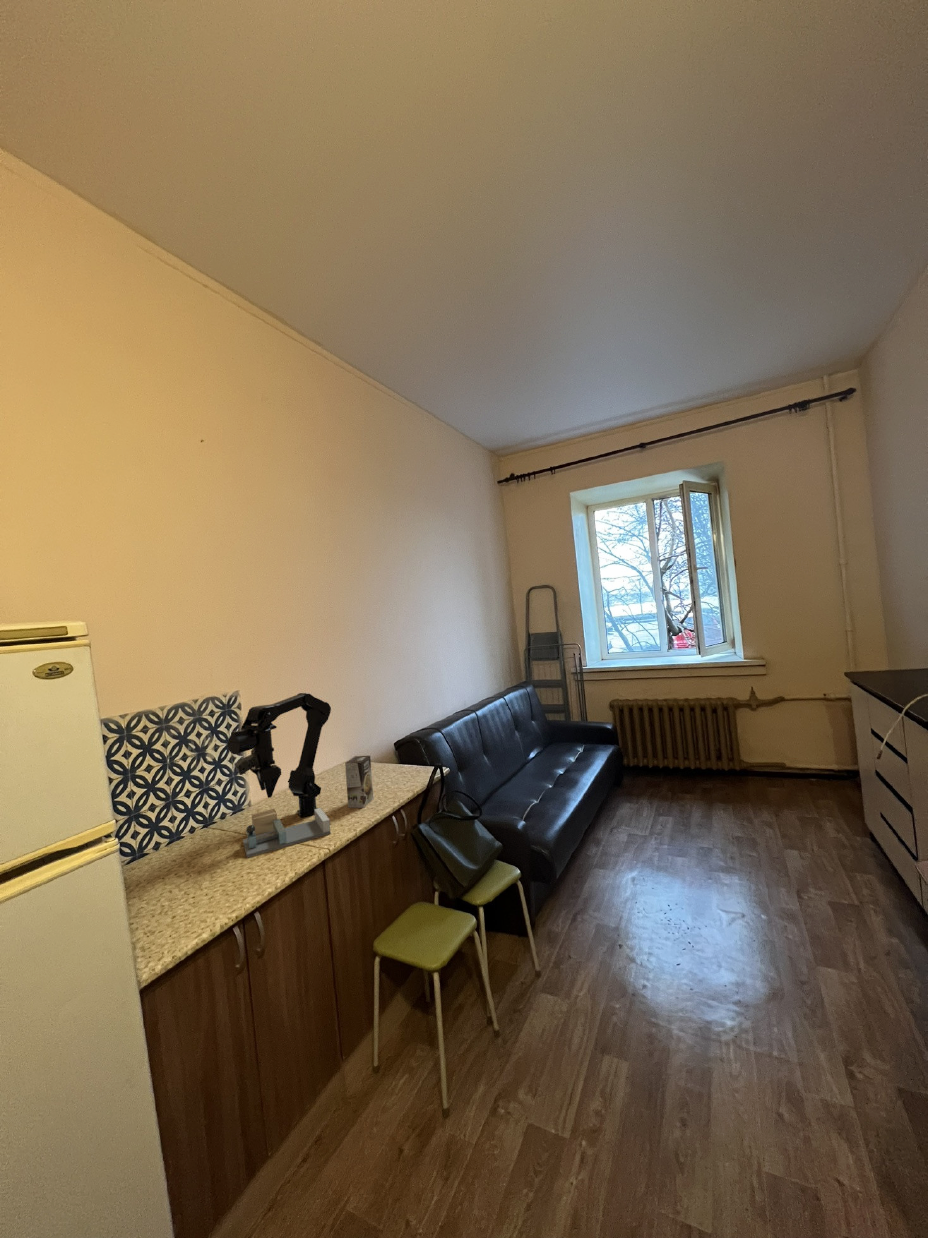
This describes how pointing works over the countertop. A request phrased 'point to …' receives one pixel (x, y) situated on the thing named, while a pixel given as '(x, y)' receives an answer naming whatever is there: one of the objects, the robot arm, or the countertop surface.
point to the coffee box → (359, 781)
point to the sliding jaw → (278, 833)
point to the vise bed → (293, 835)
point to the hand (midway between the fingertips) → (266, 793)
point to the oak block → (264, 821)
